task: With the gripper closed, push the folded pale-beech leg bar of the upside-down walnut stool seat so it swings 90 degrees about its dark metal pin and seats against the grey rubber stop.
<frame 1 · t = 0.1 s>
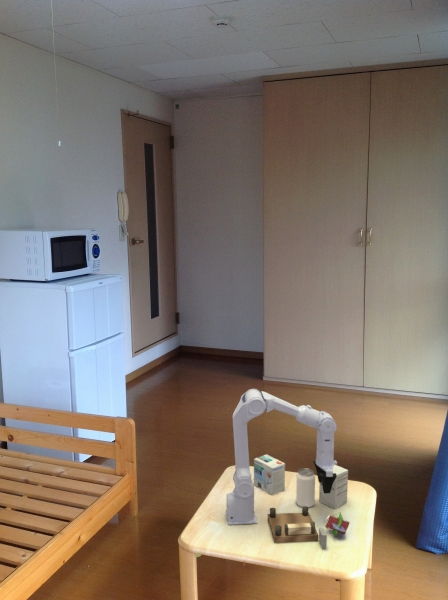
hand: (324, 487, 191), 10 cm above the table, fingers open, 7 cm apart
can: (305, 504, 200), on the table
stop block: (322, 545, 174), on the table
supplement box: (333, 503, 201), on the table
light bulb box: (269, 488, 212), on the table
hinged leg: (300, 527, 177), point 4 cm above the table, hinge at 0.0°
stool seat: (292, 529, 183), on the table
geometric puzzle: (337, 534, 181), on the table
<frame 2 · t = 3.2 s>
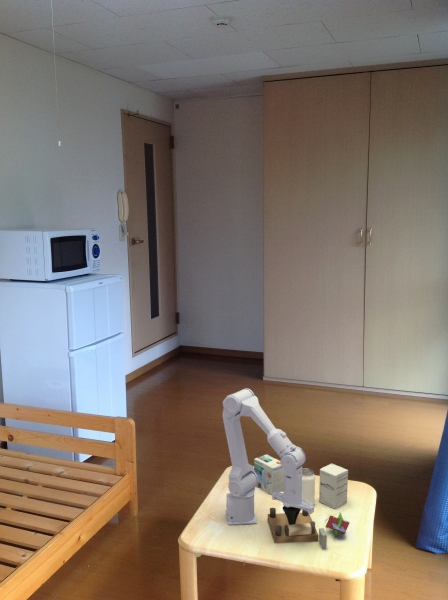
hand: (292, 526, 179), 3 cm above the table, fingers closed, pressing on hinged leg
hinged leg: (300, 528, 177), point 4 cm above the table, hinge at 3.8°, touching gripper
everything else where it was.
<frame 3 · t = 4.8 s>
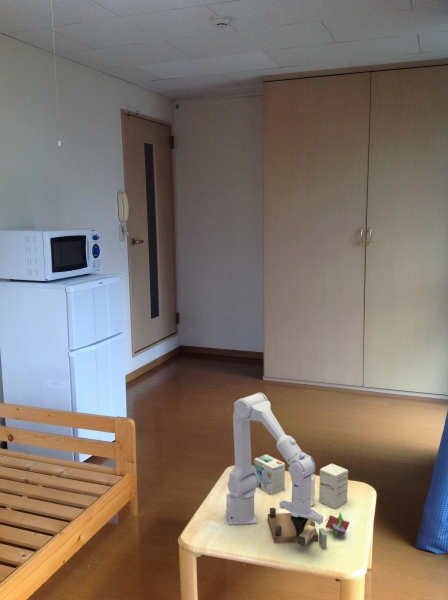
hand: (300, 536, 173), 3 cm above the table, fingers closed, pressing on hinged leg
hinged leg: (307, 533, 174), point 4 cm above the table, hinge at 53.3°, touching gripper
everything else where it was.
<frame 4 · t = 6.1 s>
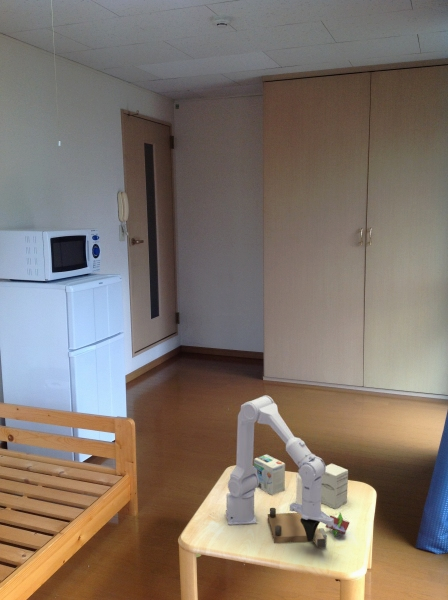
hand: (310, 539, 172), 3 cm above the table, fingers closed, pressing on hinged leg
hinged leg: (316, 534, 174), point 4 cm above the table, hinge at 94.0°, touching gripper, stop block
everything else where it was.
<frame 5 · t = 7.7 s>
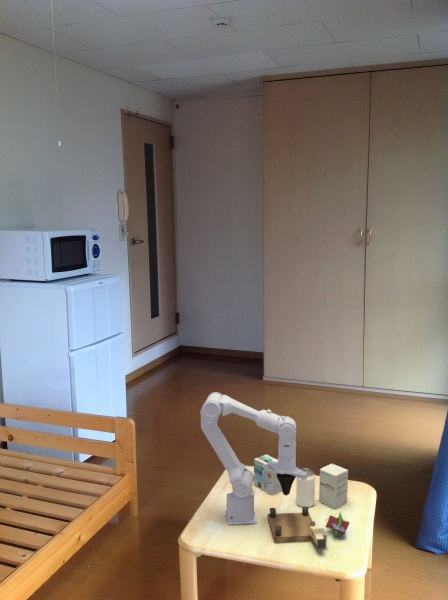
hand: (286, 493, 187), 10 cm above the table, fingers closed
hinged leg: (316, 534, 174), point 4 cm above the table, hinge at 93.9°, touching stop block
everything else where it was.
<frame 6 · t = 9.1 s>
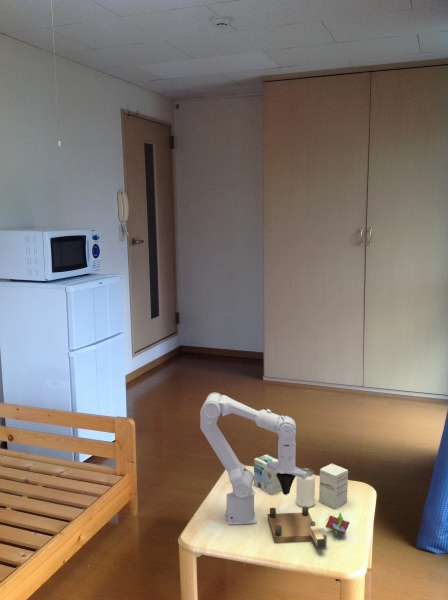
hand: (286, 493, 187), 10 cm above the table, fingers closed
nothing on the table moved.
at the end: hinged leg at +94° (first picture: +0°) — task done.
